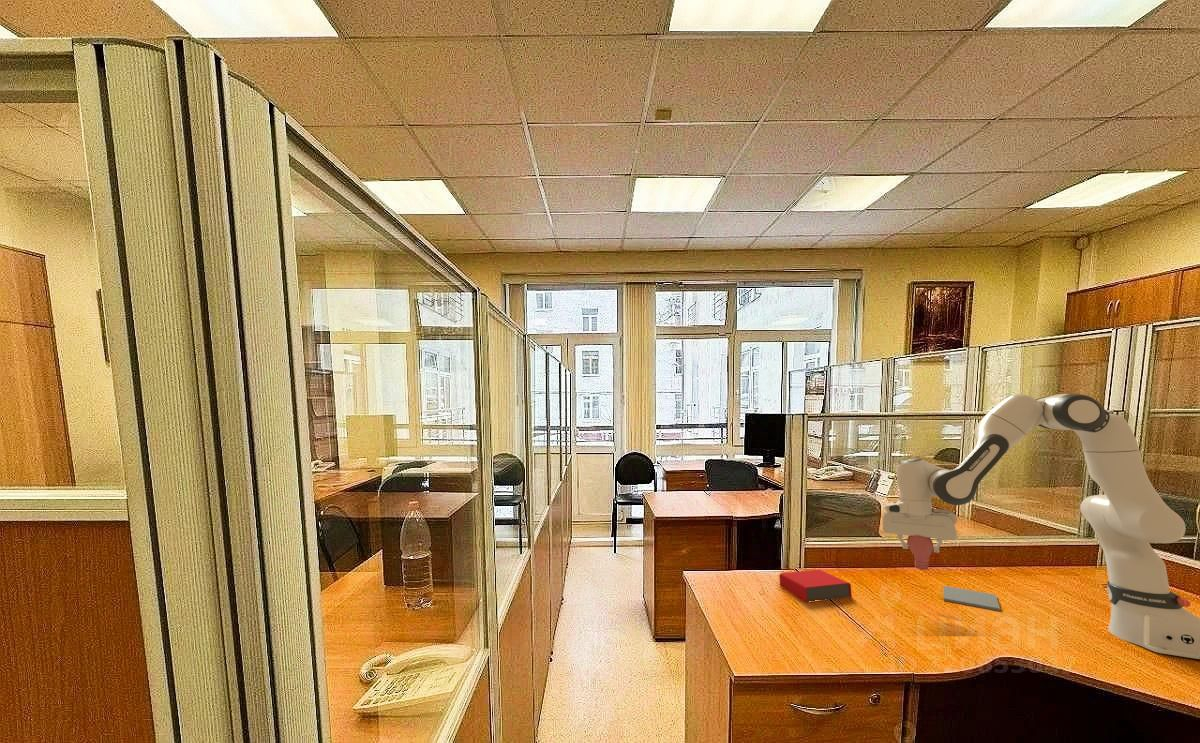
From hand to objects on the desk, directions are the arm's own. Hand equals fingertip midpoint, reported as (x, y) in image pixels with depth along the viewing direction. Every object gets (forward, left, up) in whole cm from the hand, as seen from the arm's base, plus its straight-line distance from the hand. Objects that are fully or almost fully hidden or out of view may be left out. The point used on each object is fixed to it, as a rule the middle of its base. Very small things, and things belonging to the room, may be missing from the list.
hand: (920, 550), depth 146 cm
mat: (-12, -13, -17) cm, 24 cm away
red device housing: (+31, +11, -17) cm, 37 cm away
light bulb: (0, 0, -7) cm, 7 cm away
